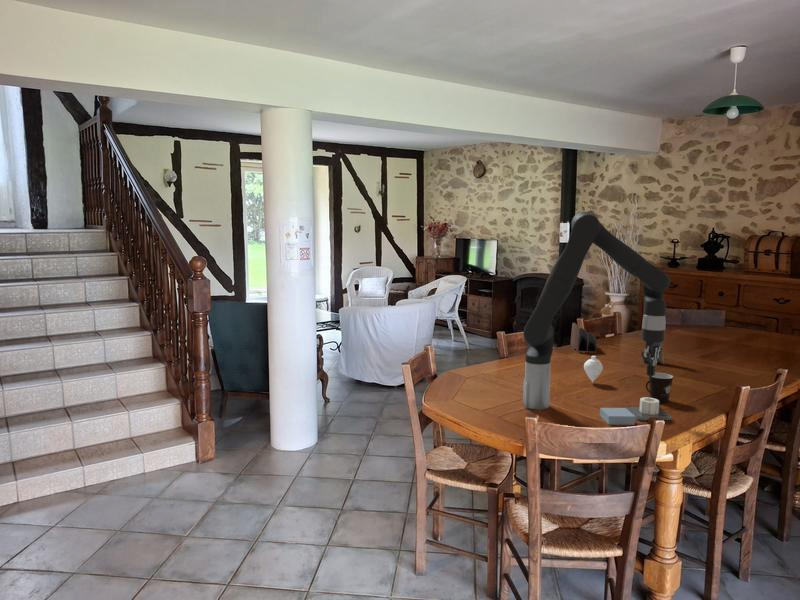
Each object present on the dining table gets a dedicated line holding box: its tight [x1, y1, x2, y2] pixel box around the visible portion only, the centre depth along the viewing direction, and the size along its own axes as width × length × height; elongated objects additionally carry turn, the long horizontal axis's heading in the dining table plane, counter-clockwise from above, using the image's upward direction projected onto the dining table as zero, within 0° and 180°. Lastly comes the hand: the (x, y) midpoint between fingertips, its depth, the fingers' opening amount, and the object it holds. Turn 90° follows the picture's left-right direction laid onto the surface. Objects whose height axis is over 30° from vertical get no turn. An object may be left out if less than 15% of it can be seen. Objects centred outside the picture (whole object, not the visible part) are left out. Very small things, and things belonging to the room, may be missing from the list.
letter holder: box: [570, 322, 598, 354], centre depth 311 cm, size 10×20×14 cm, turn 174°
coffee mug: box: [645, 372, 674, 404], centre depth 220 cm, size 12×9×10 cm
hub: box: [626, 406, 673, 422], centre depth 203 cm, size 12×10×5 cm
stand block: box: [599, 407, 636, 426], centre depth 199 cm, size 9×9×3 cm
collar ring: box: [639, 396, 660, 415], centre depth 203 cm, size 6×6×4 cm
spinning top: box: [583, 355, 604, 384], centre depth 244 cm, size 8×8×12 cm
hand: (650, 375), depth 201 cm, fingers closed
